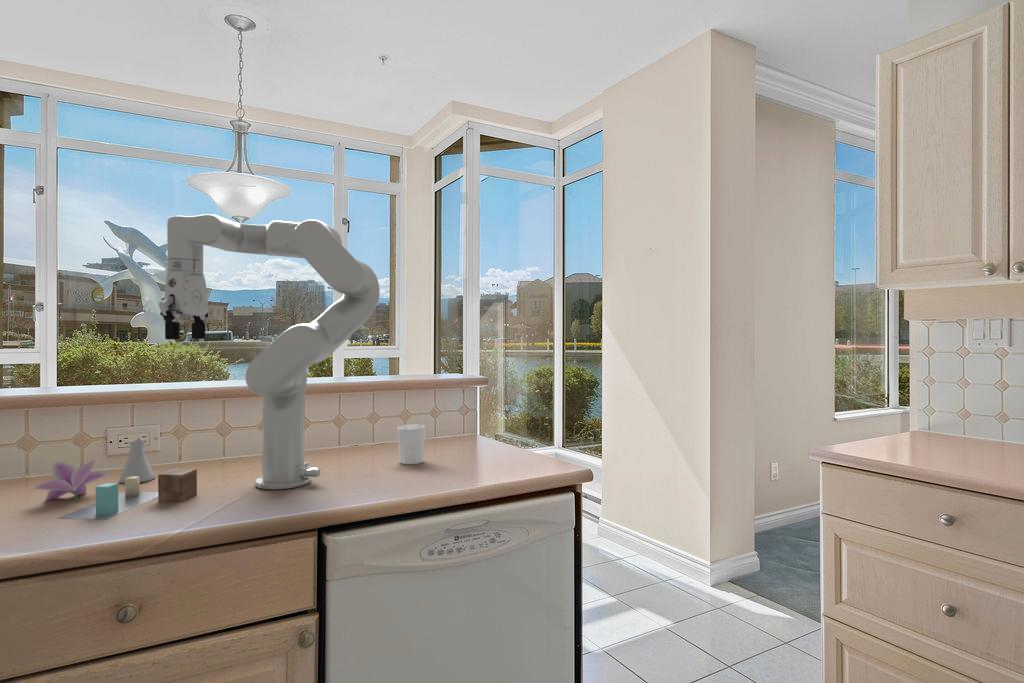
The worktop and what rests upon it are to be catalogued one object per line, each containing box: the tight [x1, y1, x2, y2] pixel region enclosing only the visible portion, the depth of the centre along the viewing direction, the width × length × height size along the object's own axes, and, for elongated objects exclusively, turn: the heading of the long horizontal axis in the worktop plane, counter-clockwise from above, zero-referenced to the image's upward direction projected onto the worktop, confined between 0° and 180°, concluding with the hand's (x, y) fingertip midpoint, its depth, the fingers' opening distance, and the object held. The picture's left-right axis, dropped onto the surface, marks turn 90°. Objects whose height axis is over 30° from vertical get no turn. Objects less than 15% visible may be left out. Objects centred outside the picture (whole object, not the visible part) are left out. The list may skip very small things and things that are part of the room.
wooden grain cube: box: [157, 467, 198, 503], centre depth 122 cm, size 5×5×7 cm
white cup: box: [397, 424, 426, 465], centre depth 160 cm, size 8×8×10 cm
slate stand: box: [56, 476, 158, 521], centre depth 118 cm, size 10×18×5 cm, turn 177°
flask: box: [118, 438, 156, 485], centre depth 139 cm, size 7×7×10 cm
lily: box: [33, 460, 110, 504], centre depth 121 cm, size 12×12×10 cm
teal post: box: [95, 482, 119, 515], centre depth 112 cm, size 3×3×6 cm
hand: (185, 339), depth 137 cm, fingers open, 9 cm apart
